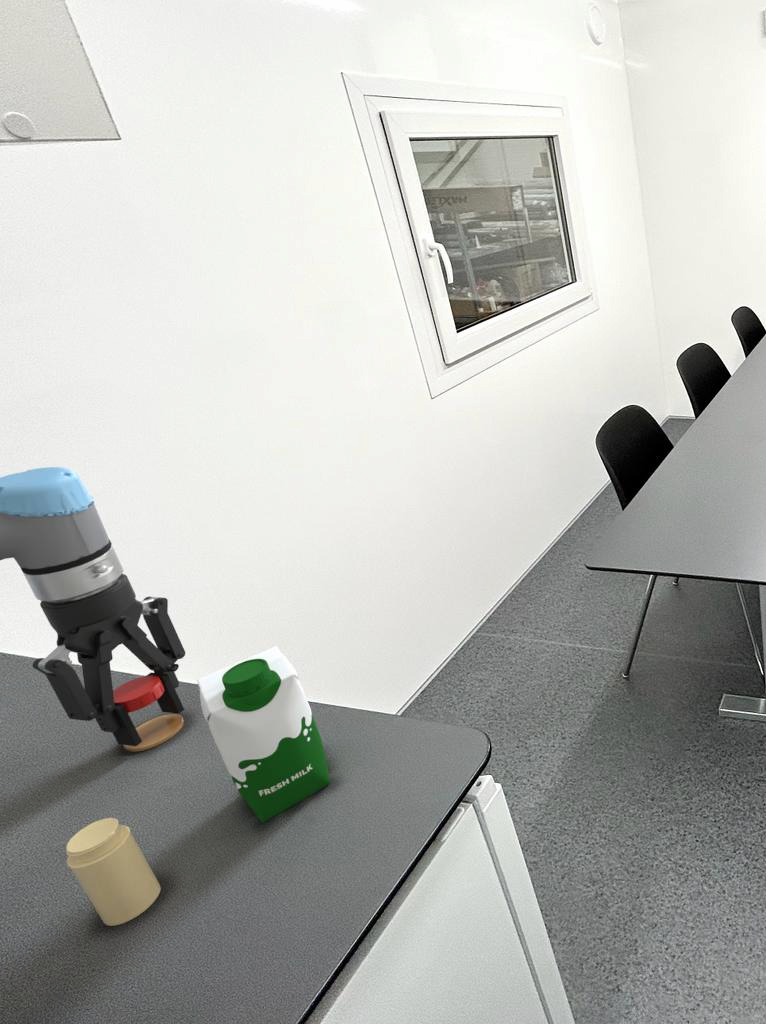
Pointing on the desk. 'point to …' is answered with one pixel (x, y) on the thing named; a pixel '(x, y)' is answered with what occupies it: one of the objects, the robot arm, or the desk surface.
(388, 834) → the desk surface
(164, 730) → the coaster
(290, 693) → the milk carton
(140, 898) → the jar
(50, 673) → the robot arm
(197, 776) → the desk surface
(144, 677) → the jar lid
